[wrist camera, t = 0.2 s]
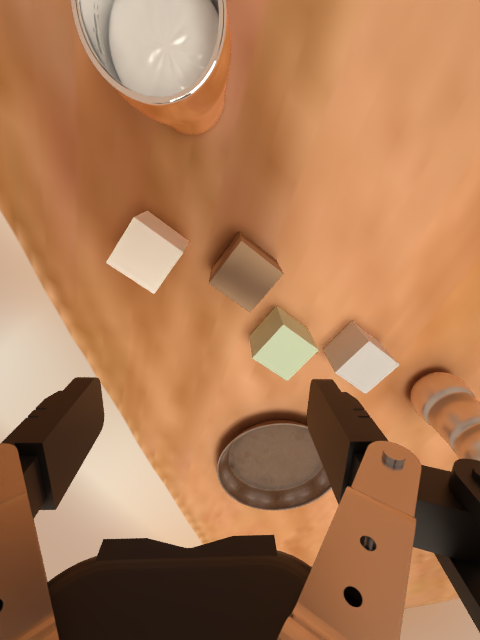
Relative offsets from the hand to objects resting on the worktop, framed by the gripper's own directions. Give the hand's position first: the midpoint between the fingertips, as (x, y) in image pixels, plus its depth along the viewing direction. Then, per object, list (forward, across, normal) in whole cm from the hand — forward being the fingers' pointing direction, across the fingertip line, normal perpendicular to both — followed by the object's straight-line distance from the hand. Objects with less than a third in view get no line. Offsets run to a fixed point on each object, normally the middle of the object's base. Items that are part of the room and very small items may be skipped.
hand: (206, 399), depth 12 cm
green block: (+24, -7, +6) cm, 26 cm away
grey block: (+24, -17, +8) cm, 30 cm away
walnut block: (+23, -3, -2) cm, 23 cm away
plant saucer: (+27, -9, +27) cm, 39 cm away
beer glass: (+21, +2, -17) cm, 27 cm away
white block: (+23, +6, -4) cm, 24 cm away
